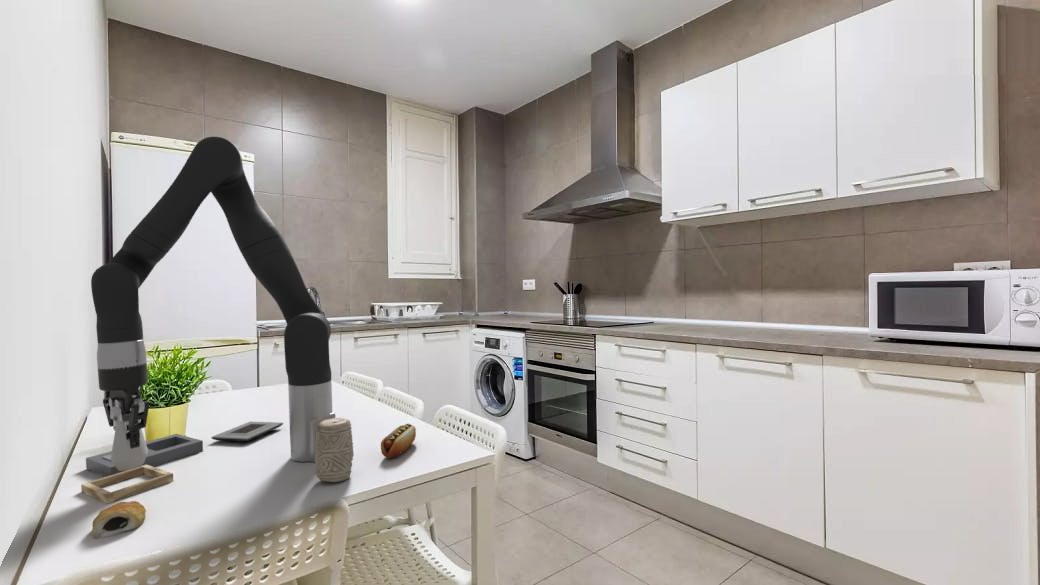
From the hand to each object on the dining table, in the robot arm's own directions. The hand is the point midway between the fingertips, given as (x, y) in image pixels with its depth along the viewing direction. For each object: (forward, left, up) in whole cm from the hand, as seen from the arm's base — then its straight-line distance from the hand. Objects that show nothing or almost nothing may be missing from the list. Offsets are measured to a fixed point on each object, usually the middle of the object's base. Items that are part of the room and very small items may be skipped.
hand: (128, 448), depth 95 cm
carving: (-35, -21, -8) cm, 41 cm away
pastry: (-17, +8, -8) cm, 20 cm away
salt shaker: (0, 0, -4) cm, 4 cm away
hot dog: (-36, -39, -8) cm, 54 cm away
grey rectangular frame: (+14, -9, -8) cm, 18 cm away
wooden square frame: (+1, 0, -8) cm, 8 cm away
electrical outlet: (+9, -30, -8) cm, 32 cm away
